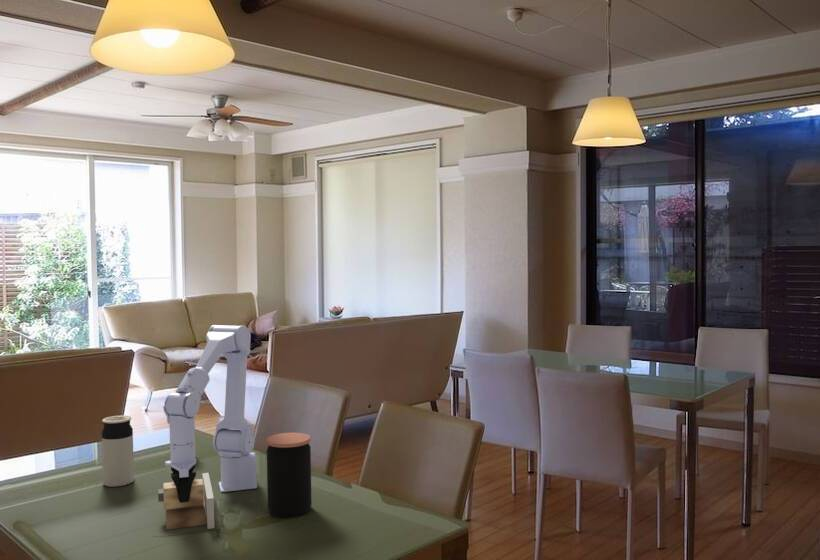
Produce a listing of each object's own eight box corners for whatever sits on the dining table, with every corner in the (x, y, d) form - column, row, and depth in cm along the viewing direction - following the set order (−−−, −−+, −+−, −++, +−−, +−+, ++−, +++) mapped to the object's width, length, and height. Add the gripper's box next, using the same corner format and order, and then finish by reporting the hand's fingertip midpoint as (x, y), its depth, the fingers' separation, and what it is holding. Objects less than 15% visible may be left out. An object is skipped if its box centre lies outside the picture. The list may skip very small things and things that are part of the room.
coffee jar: (319, 505, 179) (318, 434, 178) (299, 520, 169) (297, 445, 168) (281, 500, 183) (280, 431, 182) (259, 515, 173) (257, 441, 172)
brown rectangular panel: (203, 504, 181) (203, 496, 181) (207, 524, 168) (206, 515, 168) (165, 508, 178) (165, 500, 178) (166, 529, 165) (166, 520, 165)
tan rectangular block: (202, 498, 176) (202, 478, 176) (203, 504, 172) (203, 484, 172) (158, 504, 173) (158, 483, 172) (158, 510, 168) (158, 489, 168)
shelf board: (209, 499, 184) (208, 472, 184) (214, 528, 165) (213, 498, 165) (203, 500, 184) (202, 473, 183) (207, 528, 165) (207, 498, 164)
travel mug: (115, 489, 193) (113, 423, 192) (96, 484, 197) (94, 419, 196) (140, 481, 200) (138, 417, 199) (122, 476, 204) (120, 413, 203)
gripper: (164, 436, 177) (166, 490, 178) (165, 452, 164) (166, 510, 164) (194, 433, 180) (195, 487, 180) (197, 448, 166) (198, 506, 167)
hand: (183, 498), depth 172 cm, fingers closed on tan rectangular block, 4 cm apart
